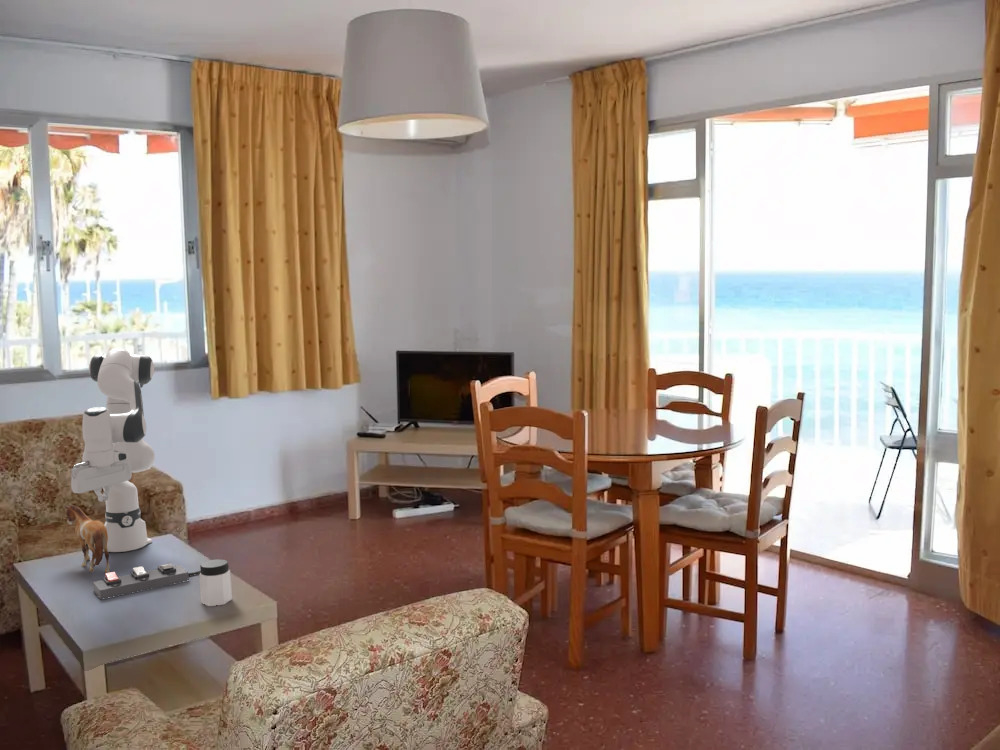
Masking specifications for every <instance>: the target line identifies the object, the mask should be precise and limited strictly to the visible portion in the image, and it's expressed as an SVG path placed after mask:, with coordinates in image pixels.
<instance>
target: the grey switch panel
mask: <svg viewBox="0 0 1000 750" xmlns="http://www.w3.org/2000/svg"><path fill="white" fill-rule="evenodd" d="M145 572H146V575H141V576H136V575H135V573H134V571H133V570H132V571H130V574H126V575H122V576H121V575H120V576H119V575H117V577H118V579H119V580H116V581H111V582H108V580H107V578H106V576H104V577H102V580H96V581H93V582H92V584H93V585H92V586H93V592H94V591H95V592H94V593H95V594H96V596H97V595H98V596H99V597H100V598H99V597H98V596H97V597H98V598H99V600H101V599H102V600H104V599H103V598H107V599H109V598H108V597H112V598H114V597H113V596H116V597H119V596H118V595H121V596H123V595H122V594H126V595H129V594H128V593H130V594H133V593H132V592H135V593H138V592H137V591H140V592H142V591H141V590H145V591H148V590H147V589H149V590H152V589H151V588H154V589H158V588H157V587H159V588H162V587H161V586H163V587H167V586H166V585H168V586H171V585H170V584H173V585H175V584H174V583H177V584H180V583H179V582H182V583H184V582H183V581H187V580H189V581H190V579H189V577H191V576H190V575H193V576H195V575H194V574H198V575H199V573H201V570H197V571H193V572H189V571H187V570H186V568H184V567H183V566H182V565H181V564H177V565H173V568H171V569H167V570H163V569H161V568H160V565H159V566H157V569H152V570H147V571H146V570H145ZM187 582H188V581H187Z"/></svg>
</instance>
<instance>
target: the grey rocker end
mask: <svg viewBox="0 0 1000 750" xmlns="http://www.w3.org/2000/svg"><path fill="white" fill-rule="evenodd" d="M159 566H160V568H161V569H163V570H167V569H171V568H173V566H174V565H173V563H167V564H166V563H165V564H160V565H159Z"/></svg>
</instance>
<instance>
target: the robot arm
mask: <svg viewBox="0 0 1000 750" xmlns="http://www.w3.org/2000/svg"><path fill="white" fill-rule="evenodd" d="M88 372H89V376H90V379H92V381H93V382H96V383H97V387H98V389H99V390H100V391H101V393H102V394H104V396H106V406H105V407H103V406H94V407H90V408H88V409H86V410H84V411H83V413H82V423H81V424H82V438H83V439H82V440H83V441H84V449H83V453H82V458H81V460H82V462H81V463H75V464H74V466H73V467H72V468H71V469H70V472H71V473H70V474H71V477H70V479H71V481H70V482H71V483H70V488H71V489H70V490H71V491H72V492H73V493H74V494H84V493H87V492H88V493H89V492H91V491H93V492H94V493H95V494H96V496H97V501H98V502H103V501H104V502H105V515H104V516H105V518H104V519H105V522H104V525H105V527H106V529H107V534H108V542H107V549H108V550H107V551H108V553H109V552H110V553H121V552H130V551H135V550H138V549H141V548H144V547H146V545H148V544H152V542H153V540H152V538H149V537H148V533H147V524H146V521H145V520H143V519H142V518H141V513H142V512H141V508H140V506H139V505H140V504H139V496H138V494H139V493H138V492H139V491H138V488H137V486H136V485H135V484H134V483H133V482H130V480H131V479H132V475H133V474H134V473H140V472H141V473H142V472H144V471H148V470H150V469H151V468H152V467H153V465H154V463H155V459H156V456H155V451H154V449H153V447H152V446H151V445H150V444H148V443H147V442H146V441H145V440H144V437H145V436H146V435H147V434H146V433H147V424H146V423H147V422H146V419H145V416H144V407H143V406H144V405H143V403H144V401H143V395H142V391H141V389H142V388H143V386H144V385H146V384H148V383H149V382H151V380H152V379H153V376H154V374H155V364H154V362H153V359H152V357H150V356H148V355H144V354H140V355H139V354H132V353H130V352H128V351H127V350H125V349H122V348H113V349H110V350H109V351H108V352H107V353H106V354H104V353H98V354H95V355H94V356H92V357H91V359H90V361H89V364H88ZM132 473H133V474H132ZM102 489H103V493H102ZM103 553H104V549H103Z"/></svg>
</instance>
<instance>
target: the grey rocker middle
mask: <svg viewBox="0 0 1000 750" xmlns="http://www.w3.org/2000/svg"><path fill="white" fill-rule="evenodd" d="M133 571H134V573H135V575H136V576H141V575H146V572H145V571H146V569H144V567H143V566H138V567H133V568H132V572H133Z"/></svg>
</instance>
